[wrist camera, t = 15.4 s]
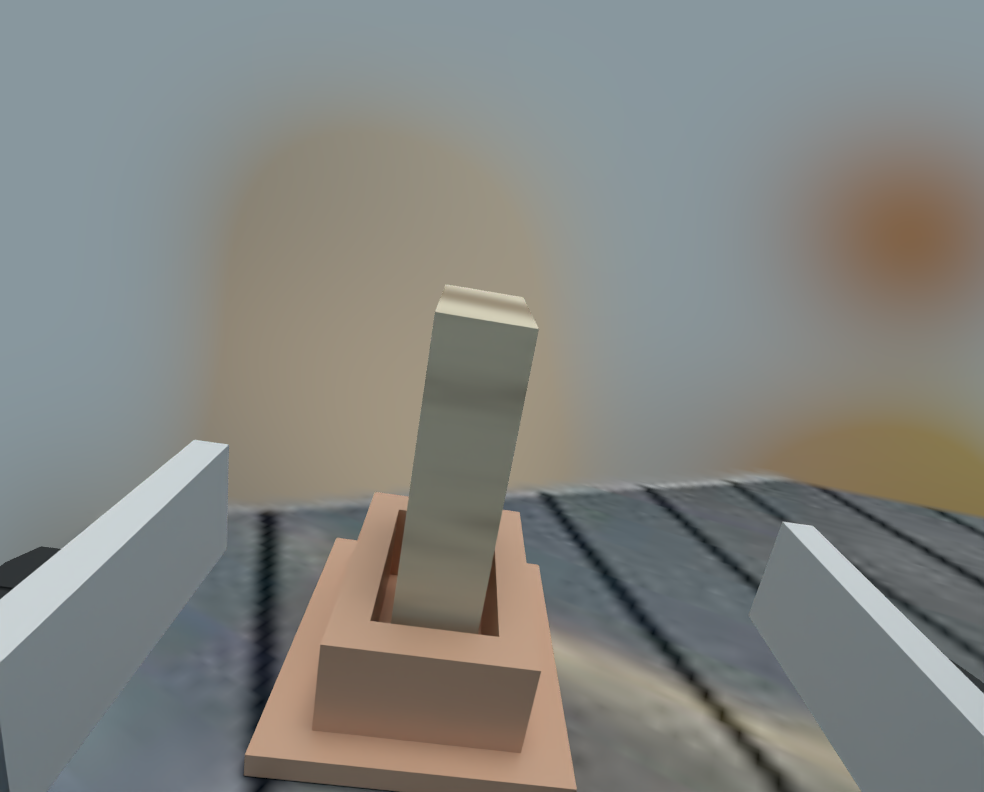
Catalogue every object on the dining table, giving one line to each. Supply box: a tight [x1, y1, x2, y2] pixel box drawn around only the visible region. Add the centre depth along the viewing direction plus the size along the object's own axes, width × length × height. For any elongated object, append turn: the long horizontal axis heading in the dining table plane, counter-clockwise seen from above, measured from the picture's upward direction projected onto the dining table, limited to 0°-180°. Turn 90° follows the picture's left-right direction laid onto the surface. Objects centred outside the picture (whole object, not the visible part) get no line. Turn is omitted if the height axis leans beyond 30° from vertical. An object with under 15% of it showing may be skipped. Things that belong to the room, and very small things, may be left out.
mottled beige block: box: [391, 284, 539, 634], centre depth 25 cm, size 7×4×16 cm, turn 2°
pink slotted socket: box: [244, 492, 577, 792], centre depth 27 cm, size 14×12×5 cm
